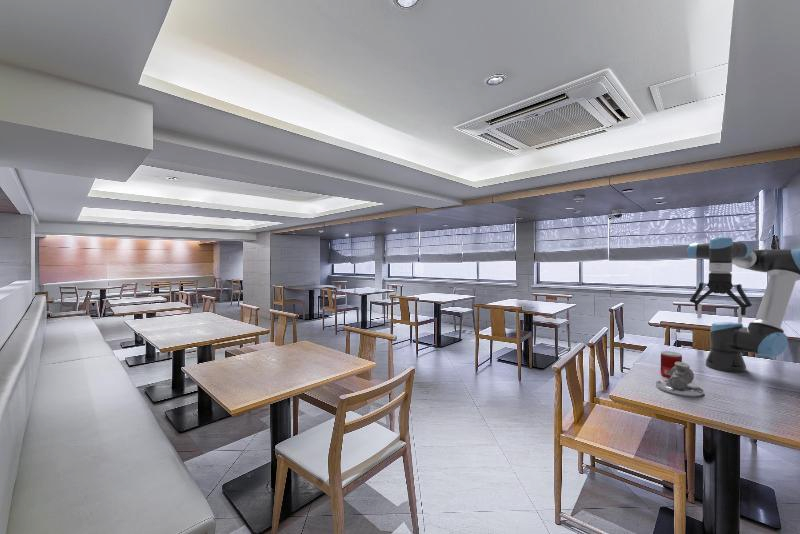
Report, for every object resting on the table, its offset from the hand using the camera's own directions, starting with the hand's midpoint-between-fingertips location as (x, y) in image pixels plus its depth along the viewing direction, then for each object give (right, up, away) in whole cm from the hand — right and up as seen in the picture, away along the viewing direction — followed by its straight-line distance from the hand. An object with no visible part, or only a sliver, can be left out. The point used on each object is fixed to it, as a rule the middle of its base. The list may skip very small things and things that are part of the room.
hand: (719, 320), depth 155 cm
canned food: (-12, -29, +12) cm, 33 cm away
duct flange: (-21, -29, -5) cm, 36 cm away
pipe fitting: (-21, -28, -5) cm, 35 cm away
